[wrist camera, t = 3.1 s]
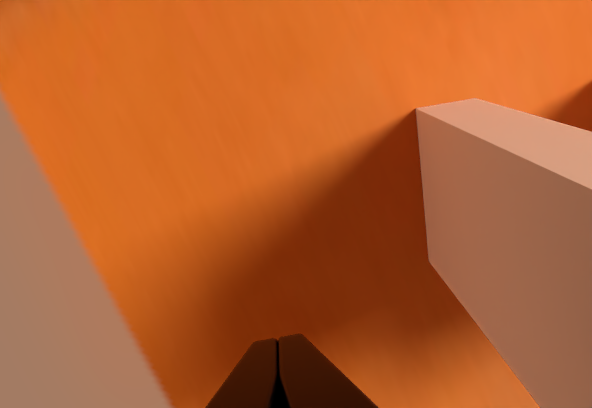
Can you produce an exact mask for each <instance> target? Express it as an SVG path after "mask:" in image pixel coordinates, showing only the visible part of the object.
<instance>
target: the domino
mask: <svg viewBox="0 0 592 408" xmlns="http://www.w3.org/2000/svg"><path fill="white" fill-rule="evenodd" d="M416 119H417V130H418V142H419V154H420V165H421V177H422V189H423V200H424V212H425V224H426V235H427V247H428V258H429V262H430V264H431V265H432V266H433V267H434V269H435V270H436V271H437V273H438V274H439V275H440V277H441V278H442V279H443V281H444V282H445V283H446V285H447V286H448V287H449V288H450V290H451V291H452V292H453V294H454V295H455V296H456V298H457V299H458V300H459V302H460V303H461V304H462V305H463V307H464V308H465V309H466V311H467V312H468V313H469V315H470V316H471V317H472V319H473V320H474V321H475V323H476V324H477V325H478V326H479V328H480V329H481V330H482V332H483V333H484V334H485V336H486V337H487V338H488V340H489V341H490V342H491V343H492V345H493V346H494V347H495V349H496V350H497V351H498V353H499V354H500V355H501V357H502V358H503V359H504V361H505V362H506V363H507V364H508V366H509V367H510V368H511V370H512V371H513V372H514V374H515V375H516V376H517V378H518V379H519V380H520V381H521V383H522V384H523V385H524V387H525V388H526V389H527V391H528V392H529V393H530V395H531V396H532V397H533V399H534V400H535V401H536V402H537V404H538V405H539V406H540V408H592V132H591V131H588V130H584V129H581V128H577V127H574V126H570V125H567V124H563V123H560V122H556V121H553V120H549V119H546V118H542V117H539V116H536V115H532V114H529V113H525V112H522V111H518V110H515V109H511V108H508V107H504V106H501V105H497V104H494V103H490V102H487V101H484V100H480V99H477V98H473V99H467V100H461V101H456V102H450V103H444V104H438V105H432V106H427V107H421V108H416Z"/></svg>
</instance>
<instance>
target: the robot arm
mask: <svg viewBox="0 0 592 408" xmlns="http://www.w3.org/2000/svg"><path fill="white" fill-rule="evenodd" d="M205 408H378V407H377V406H376V405H375V404H374V403H373V402H372V401H371V400H370V399H369V398H368V397H367V396H366V395H365V394H364V393H363V392H362V391H361V390H360V389H359V388H358V387H357V386H355V385H354V384H353V383H352V382H351V381H350V380H349V379H348V378H347V377H346V376H345V375H344V374H343V373H342V372H341V371H340V370H339V369H338V368H337V367H336V366H335V365H334V364H332V363H331V362H330V361H329V360H328V359H327V358H326V357H325V356H324V355H323V354H322V353H321V352H320V351H319V350H318V349H317V348H316V347H315V346H314V345H313V344H312V343H311V342H309V341H308V340H307V339H306V338H305V337H304V336H303V335H302V334H295V335H289V336H284V337H280V338H279V340H278V341H277V340H276V339H267V340H261V341H256V342H254V343H253V344H252V345H251V346H250V348H249V349H248V350H247V352H246V353H245V354H244V356H243V357H242V359H241V360H240V361H239V363H238V364H237V365H236V367H235V368H234V369H233V371H232V372H231V373H230V375H229V376H228V378H227V379H226V380H225V382H224V383H223V384H222V386H221V387H220V388H219V390H218V391H217V393H216V394H215V395H214V397H213V398H212V399H211V401H210V402H209V403H208V405H207V406H206V407H205Z"/></svg>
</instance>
